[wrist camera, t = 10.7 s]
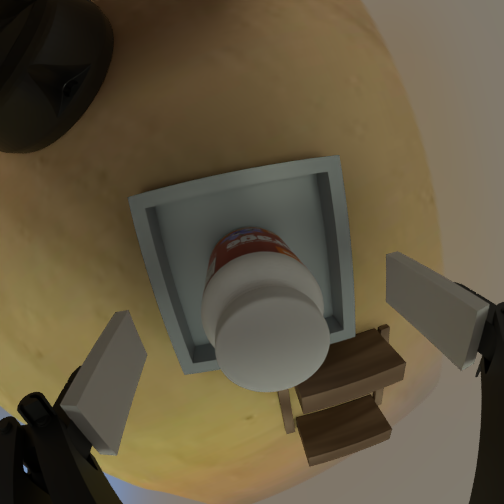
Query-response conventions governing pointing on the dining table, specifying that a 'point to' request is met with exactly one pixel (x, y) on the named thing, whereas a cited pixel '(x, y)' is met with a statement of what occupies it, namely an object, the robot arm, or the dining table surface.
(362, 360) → the wooden open frame
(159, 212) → the tray
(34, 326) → the dining table surface
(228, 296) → the pill bottle
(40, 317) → the dining table surface
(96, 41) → the robot arm
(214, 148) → the dining table surface
